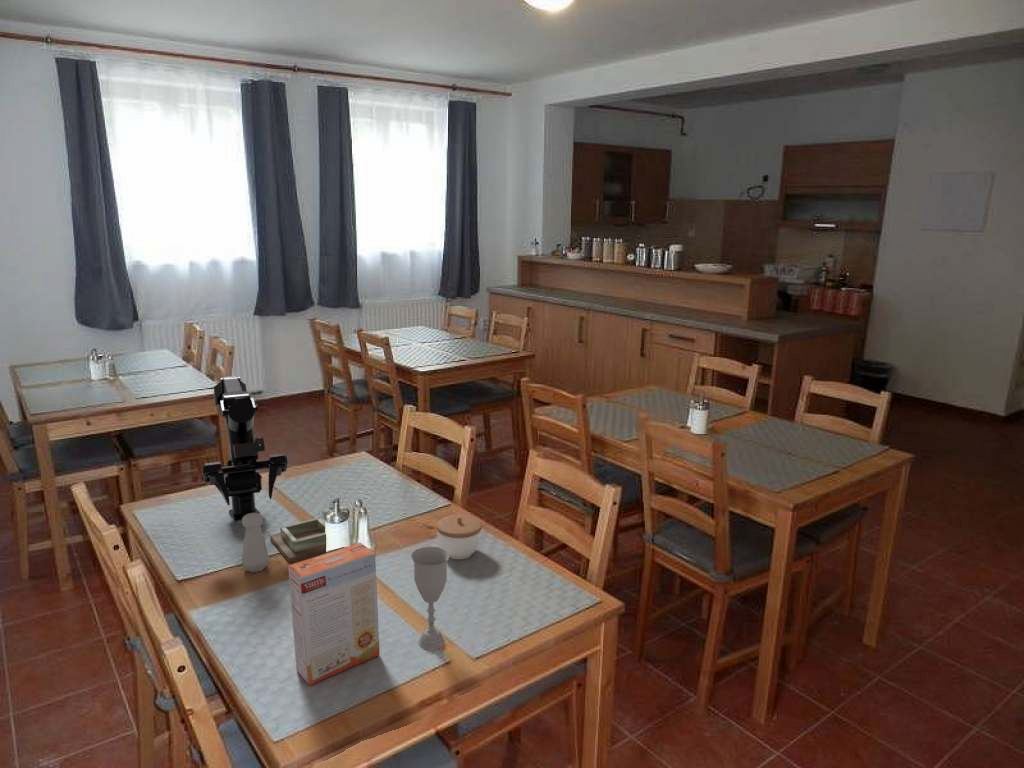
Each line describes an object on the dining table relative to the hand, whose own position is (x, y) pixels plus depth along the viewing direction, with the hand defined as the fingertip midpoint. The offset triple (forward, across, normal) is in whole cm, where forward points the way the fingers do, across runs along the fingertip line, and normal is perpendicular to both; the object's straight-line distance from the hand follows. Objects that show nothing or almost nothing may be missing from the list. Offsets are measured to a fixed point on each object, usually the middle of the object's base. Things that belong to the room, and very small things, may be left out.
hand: (249, 501), depth 162 cm
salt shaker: (+15, 0, +3) cm, 15 cm away
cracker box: (+43, +9, -29) cm, 53 cm away
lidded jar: (+23, +44, -6) cm, 51 cm away
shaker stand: (+10, +12, +8) cm, 18 cm away
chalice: (+44, +27, -29) cm, 59 cm away
